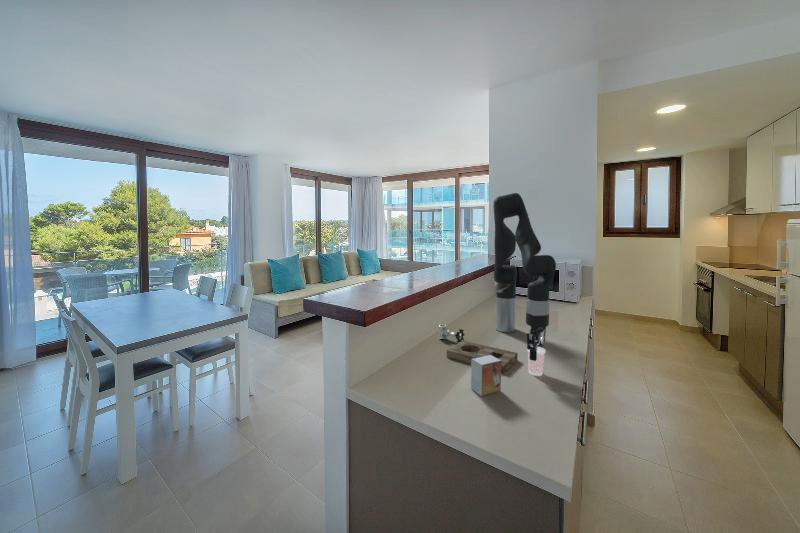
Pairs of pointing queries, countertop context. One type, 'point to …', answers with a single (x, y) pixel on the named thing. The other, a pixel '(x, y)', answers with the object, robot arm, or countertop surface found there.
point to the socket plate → (481, 353)
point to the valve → (449, 333)
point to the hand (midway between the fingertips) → (536, 356)
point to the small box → (486, 375)
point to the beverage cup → (536, 362)
